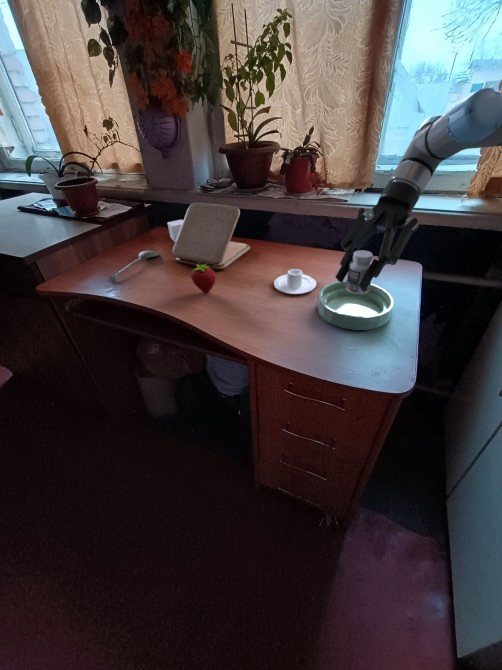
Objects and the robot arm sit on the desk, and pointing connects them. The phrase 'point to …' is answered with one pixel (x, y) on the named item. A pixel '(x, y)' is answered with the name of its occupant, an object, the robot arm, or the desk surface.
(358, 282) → the pill bottle
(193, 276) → the strawberry
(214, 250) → the case
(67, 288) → the desk surface
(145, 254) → the soupspoon
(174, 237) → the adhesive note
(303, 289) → the candle holder
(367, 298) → the bowl
